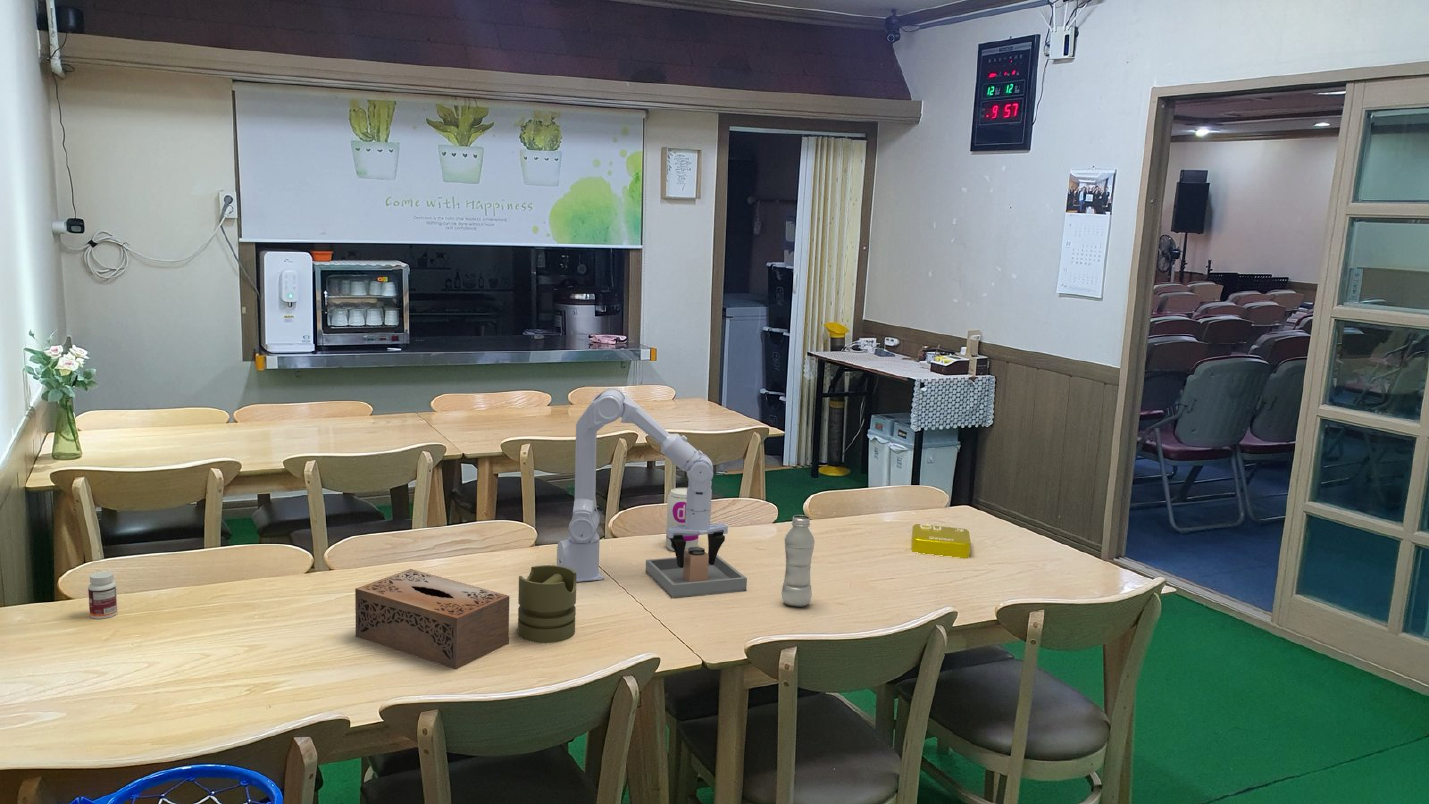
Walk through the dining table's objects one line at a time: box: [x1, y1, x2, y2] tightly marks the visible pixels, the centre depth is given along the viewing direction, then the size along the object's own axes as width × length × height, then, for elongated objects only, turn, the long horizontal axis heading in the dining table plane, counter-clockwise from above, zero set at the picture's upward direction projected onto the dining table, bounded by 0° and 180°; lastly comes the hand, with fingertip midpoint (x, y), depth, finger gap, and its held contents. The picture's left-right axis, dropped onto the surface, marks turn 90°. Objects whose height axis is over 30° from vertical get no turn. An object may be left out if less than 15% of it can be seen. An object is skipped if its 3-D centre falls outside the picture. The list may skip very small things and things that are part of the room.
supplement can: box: [665, 487, 700, 553], centre depth 266 cm, size 8×8×15 cm
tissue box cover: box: [354, 568, 510, 670], centre depth 202 cm, size 26×14×10 cm, turn 61°
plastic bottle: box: [781, 514, 816, 608], centre depth 230 cm, size 6×7×20 cm
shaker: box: [683, 546, 709, 582], centre depth 243 cm, size 4×4×7 cm
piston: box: [517, 564, 577, 644], centre depth 209 cm, size 11×12×11 cm
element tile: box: [910, 523, 972, 559], centre depth 279 cm, size 15×15×5 cm
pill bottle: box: [87, 570, 118, 620], centre depth 206 cm, size 5×5×8 cm
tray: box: [645, 554, 748, 599], centre depth 243 cm, size 18×18×3 cm
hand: (695, 565), depth 243 cm, fingers open, 7 cm apart
